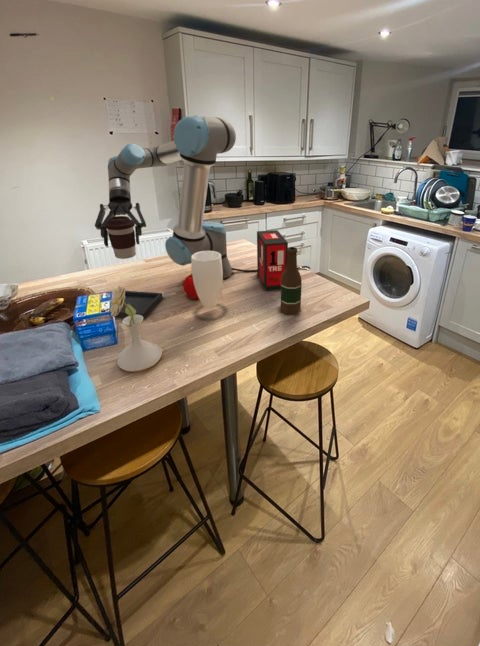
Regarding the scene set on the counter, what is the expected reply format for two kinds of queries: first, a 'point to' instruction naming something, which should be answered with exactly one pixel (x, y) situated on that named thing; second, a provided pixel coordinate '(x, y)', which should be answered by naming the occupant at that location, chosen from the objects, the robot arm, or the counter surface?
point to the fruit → (190, 287)
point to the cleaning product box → (271, 258)
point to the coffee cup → (121, 236)
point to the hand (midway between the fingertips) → (122, 243)
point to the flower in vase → (134, 338)
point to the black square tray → (140, 303)
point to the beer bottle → (291, 285)
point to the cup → (207, 276)
